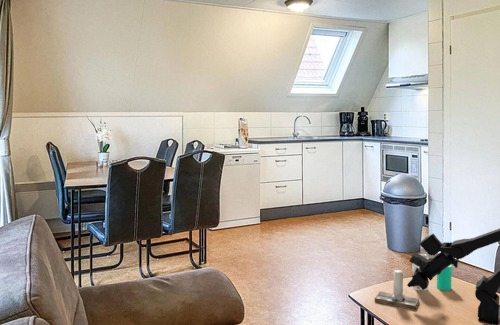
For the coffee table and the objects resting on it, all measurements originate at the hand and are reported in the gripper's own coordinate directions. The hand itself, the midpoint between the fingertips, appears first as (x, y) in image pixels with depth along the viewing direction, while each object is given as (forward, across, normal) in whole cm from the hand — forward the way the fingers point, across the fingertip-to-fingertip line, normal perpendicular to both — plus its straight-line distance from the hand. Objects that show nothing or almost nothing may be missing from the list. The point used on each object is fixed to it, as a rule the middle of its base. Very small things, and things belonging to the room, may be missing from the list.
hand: (407, 285), depth 173 cm
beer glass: (+4, -19, +7) cm, 21 cm away
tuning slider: (+7, 0, +2) cm, 7 cm away
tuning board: (+9, 0, +2) cm, 9 cm away
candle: (-2, -25, +13) cm, 28 cm away
